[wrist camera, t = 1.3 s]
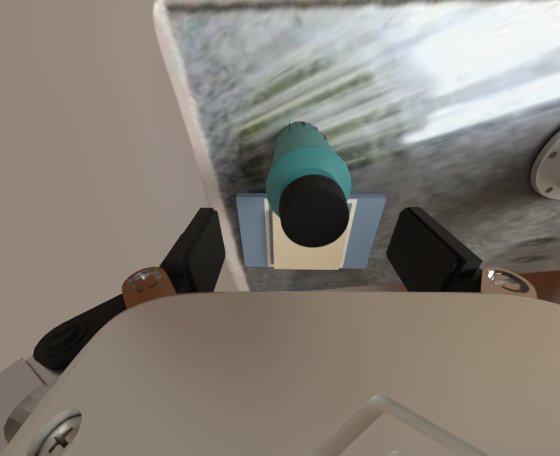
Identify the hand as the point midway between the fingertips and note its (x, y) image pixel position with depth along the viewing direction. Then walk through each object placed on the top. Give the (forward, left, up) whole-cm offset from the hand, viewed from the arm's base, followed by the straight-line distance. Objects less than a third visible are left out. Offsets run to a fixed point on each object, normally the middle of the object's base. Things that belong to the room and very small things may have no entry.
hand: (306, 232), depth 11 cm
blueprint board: (-3, +14, -21) cm, 25 cm away
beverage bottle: (-1, 0, -21) cm, 21 cm away
